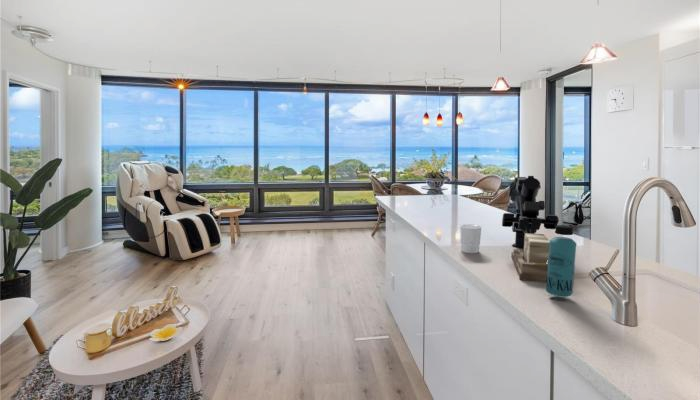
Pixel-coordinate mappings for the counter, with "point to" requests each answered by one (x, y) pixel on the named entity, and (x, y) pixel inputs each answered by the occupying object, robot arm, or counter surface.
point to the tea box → (536, 248)
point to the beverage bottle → (561, 263)
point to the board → (527, 276)
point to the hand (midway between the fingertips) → (530, 240)
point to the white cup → (470, 238)
